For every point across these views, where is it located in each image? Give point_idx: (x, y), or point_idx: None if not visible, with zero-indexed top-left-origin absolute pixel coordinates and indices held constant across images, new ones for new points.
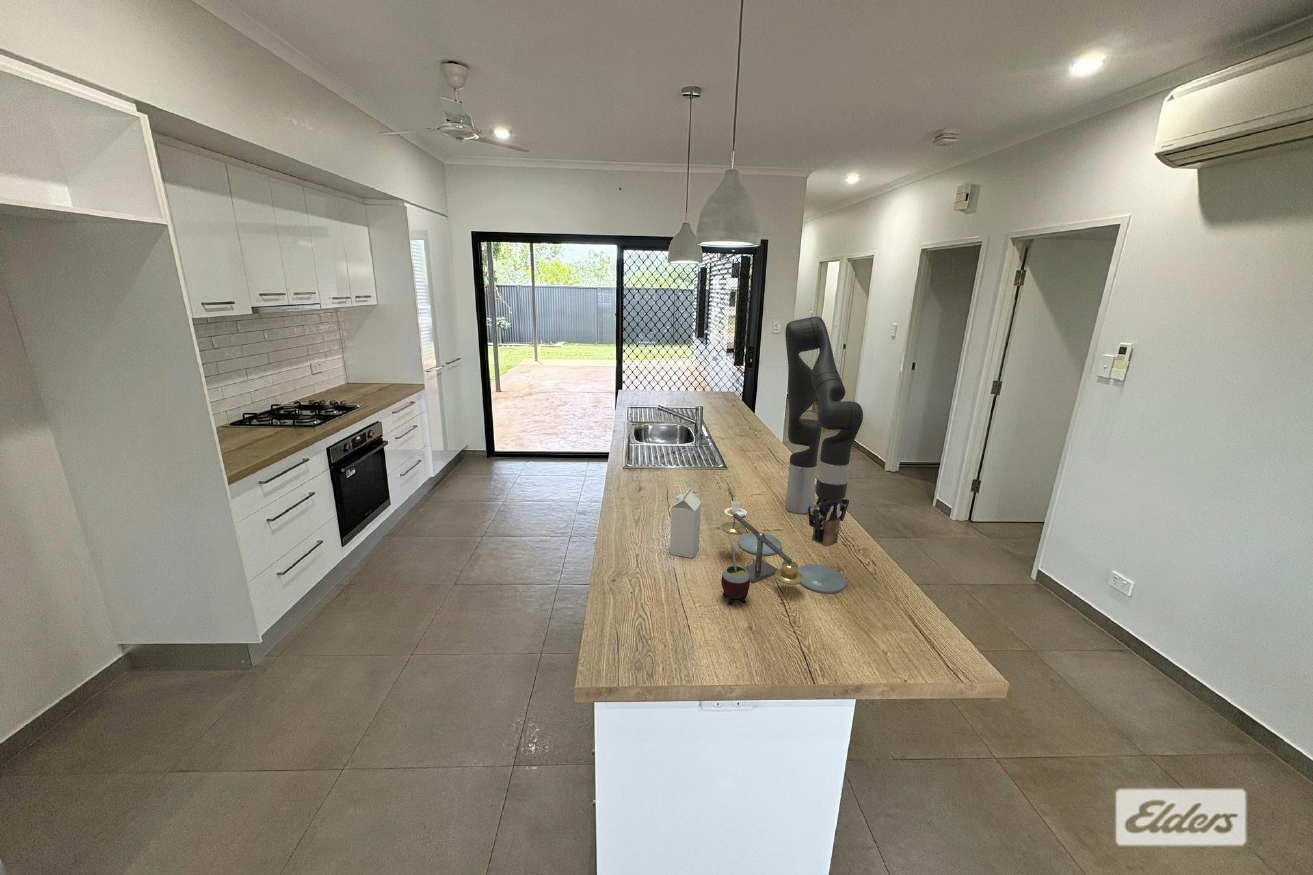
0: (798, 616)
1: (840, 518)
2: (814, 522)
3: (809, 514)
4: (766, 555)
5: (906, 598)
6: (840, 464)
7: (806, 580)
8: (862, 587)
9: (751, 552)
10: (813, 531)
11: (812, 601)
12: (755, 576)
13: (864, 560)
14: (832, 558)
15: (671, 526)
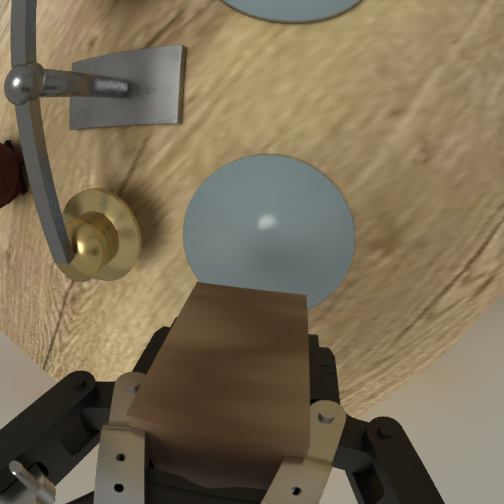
0: (89, 295)
1: (347, 469)
2: (87, 411)
3: (4, 437)
4: (243, 13)
5: (362, 399)
6: None
7: (204, 229)
8: (335, 333)
9: None
10: (178, 318)
11: (154, 287)
12: (87, 118)
13: (485, 262)
14: (437, 186)
15: None
